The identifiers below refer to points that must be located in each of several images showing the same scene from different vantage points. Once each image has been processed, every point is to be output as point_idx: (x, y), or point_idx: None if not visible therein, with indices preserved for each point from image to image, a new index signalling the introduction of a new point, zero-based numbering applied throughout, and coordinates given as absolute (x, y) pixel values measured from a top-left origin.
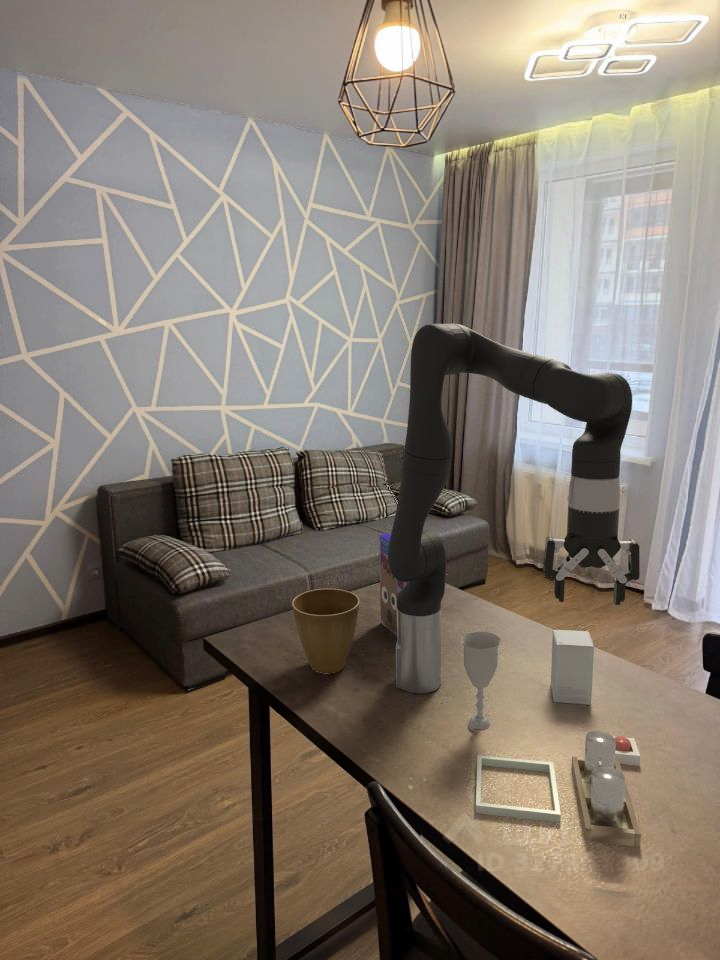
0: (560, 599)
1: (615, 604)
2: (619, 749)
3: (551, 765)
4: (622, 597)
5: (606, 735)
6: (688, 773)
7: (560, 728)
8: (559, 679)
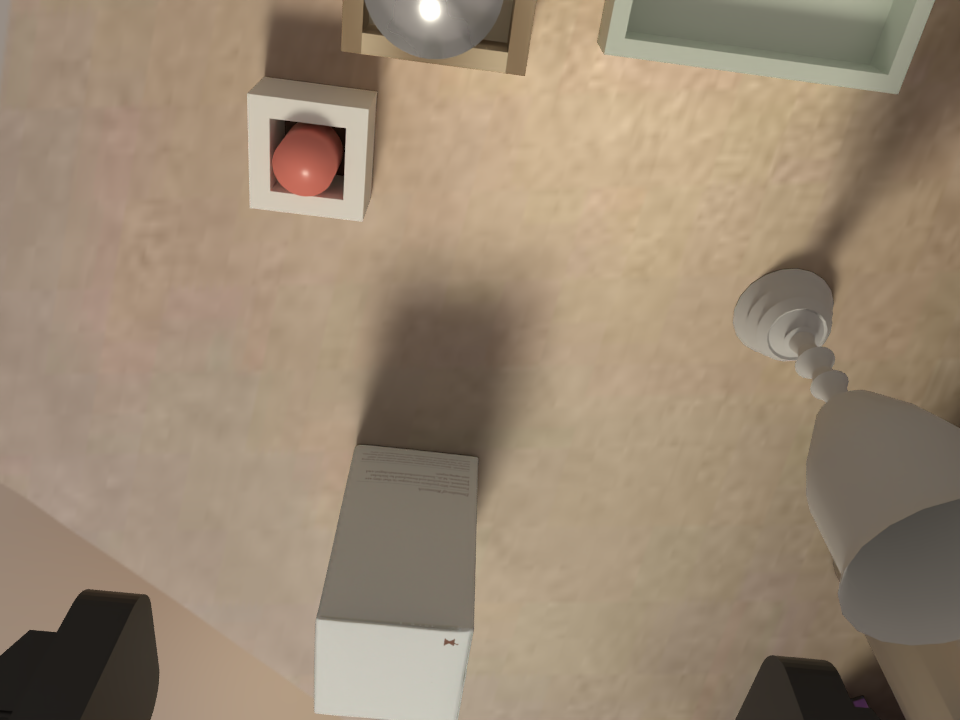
0: (831, 682)
1: (143, 596)
2: (321, 134)
3: (616, 33)
4: (13, 682)
5: (397, 20)
6: (85, 72)
7: (492, 320)
8: (460, 514)
